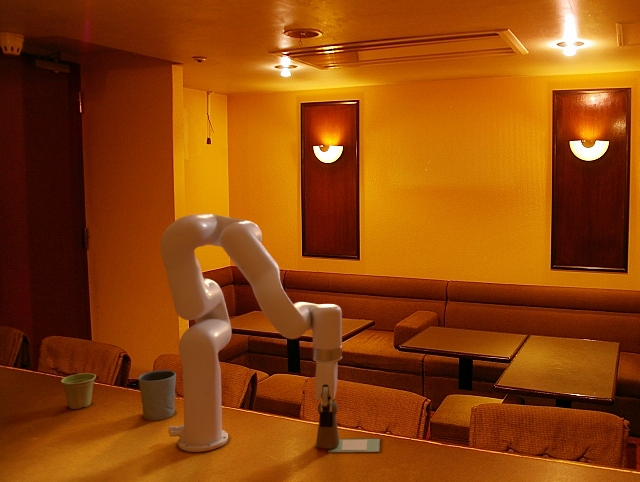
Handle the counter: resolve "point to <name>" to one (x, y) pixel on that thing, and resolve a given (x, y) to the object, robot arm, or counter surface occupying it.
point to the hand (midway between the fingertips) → (327, 421)
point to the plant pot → (78, 389)
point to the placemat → (356, 446)
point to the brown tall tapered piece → (328, 431)
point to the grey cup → (158, 394)
